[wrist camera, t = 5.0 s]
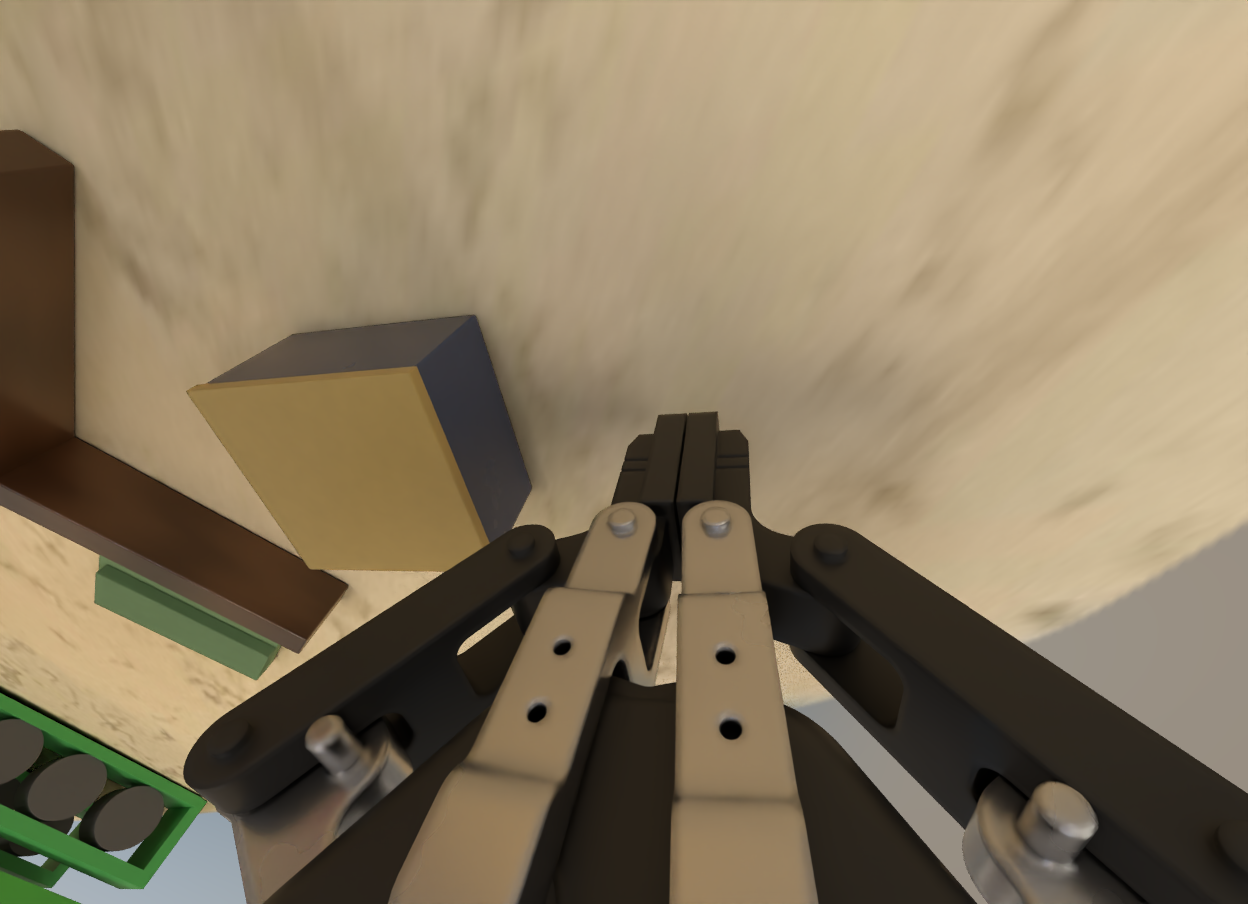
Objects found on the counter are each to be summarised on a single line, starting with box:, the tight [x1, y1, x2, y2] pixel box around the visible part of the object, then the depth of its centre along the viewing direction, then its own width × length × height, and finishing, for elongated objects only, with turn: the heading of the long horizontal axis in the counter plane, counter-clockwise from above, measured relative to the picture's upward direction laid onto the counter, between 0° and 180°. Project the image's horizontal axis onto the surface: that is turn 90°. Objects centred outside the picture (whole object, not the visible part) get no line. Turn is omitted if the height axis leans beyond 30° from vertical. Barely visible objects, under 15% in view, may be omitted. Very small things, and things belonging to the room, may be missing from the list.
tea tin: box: [186, 315, 532, 572], centre depth 16 cm, size 7×7×4 cm
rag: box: [94, 555, 281, 680], centre depth 26 cm, size 9×7×1 cm
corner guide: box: [0, 130, 348, 654], centre depth 19 cm, size 10×19×3 cm, turn 9°
